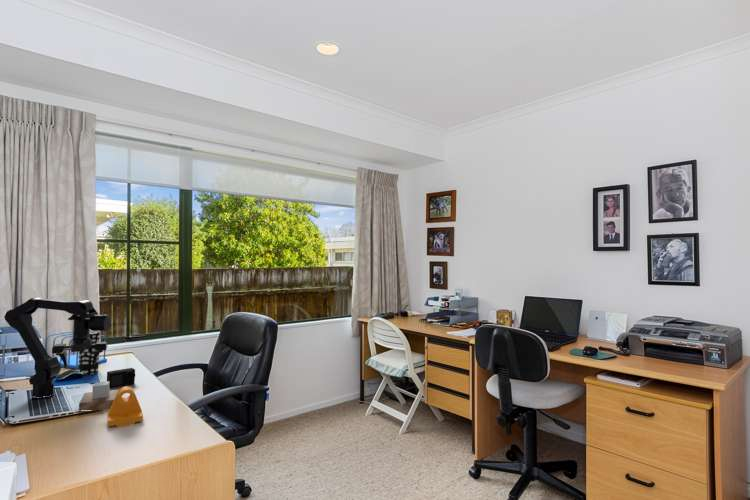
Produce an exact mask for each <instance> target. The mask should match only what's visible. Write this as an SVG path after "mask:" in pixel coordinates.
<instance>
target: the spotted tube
mask: <svg viewBox="0 0 750 500" xmlns="http://www.w3.org/2000/svg"><path fill="white" fill-rule="evenodd" d="M100 335H101V331H92V330H90V333H89V339H91V340H92V344H96V343H97V342H101V336H100ZM94 351H95V349H85V351H83V352H80V351H78V355H79V365H78V369H77V372H78V371H80V372H82V373H83V374H84V375H83V376H90V375H91V374H92V375H95V374H94V373H96V374H98V373H99V365H100V363H99V358H100V354H99V355H98V357H97V359H96V361H95V364H94V366H93V367H92V362H93V357H94Z"/></svg>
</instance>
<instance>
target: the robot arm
mask: <svg viewBox="0 0 750 500" xmlns="http://www.w3.org/2000/svg"><path fill="white" fill-rule="evenodd" d="M39 309H43V310H55V311H64V312H66V313H68V314H70V316H69V317H68V318H67V320H68V321H73V323H72V324H73V327H72V329H73V330H72V332H73V334H72V335H73V337H72V338H73V339H72V338H71V339H72V341H71V344H70V346H69V345H67V343H63V344H61V343H56V344H55V346H53V345H52V348H51V354H53V353H54V354H55V356H54V357H53V358H52V356H51V355H49V354H48V352H47V349H46V350H45V345H43V342H42V341H41V340H40V337H39V335H38V334H37V332H36V329H35V328H34V326H33V314H34V313H35V312H37V310H39ZM3 317H4V320H5V322H6V323H7V324H8V326H10V327H11V328H13V330H16V331H17V332H18V334H19V336H20V338H21V339H22V341H23V343H24V345H25V346H26V348H27V351H28V352H29V354H30V355H31V357H32V359H33V361H34V368H33V369H34V373H35V374H34V375H33V376H31V377H30V378H29V379H28V382H29V384H30V385H32V395H31V397H32V396H36V397H43V396H50V395H52V396H53V395H54V394H55V382H54V380H56V378H57V376H58V375H59V374H60V372H61V370H62V367H61V366H60V365H61V363H59V361H58V357H57V356H59V357H61V359H62V361H63V364H64V366H65V367H64V368H65V370H67V369H68V367H67V365H68V364H67V356H68V351H69V350H70V353H73V352H74V353H77V352H78V353H79V351H80V352H83V351H85V349H95V351H94V357H93V362H92V367H93V366H94V364H95V361H96V359H97V357H98V355H99V356H100V354H101V353H104V350H105V351H107V349H108V342H107V341H106V342H105V341H100V342H97V343H96V344H92V340H91V339H89V333H90V331H97V332H108V331H109V330H110V328H111V323H112V322H111V320H110V317H109V314H99V312H97V310H96V309H95V307H94V305H93V303H92V301H91V300H89V299H88V300H87V299H86V300H85V299H82V300H68V301H67V300H61V299H60V300H59V299H51V298H43V297H40V296H39V297H33V298H32V297H31V298H29V299H28V300H27V301H24V302H23V303H22V304H20V305H18V306H16V307H15V308H12V309H9V310H7V311H6V312H5V315H4V316H3Z"/></svg>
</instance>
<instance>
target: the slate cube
mask: <svg viewBox="0 0 750 500" xmlns="http://www.w3.org/2000/svg"><path fill="white" fill-rule="evenodd" d="M109 388H110V381H107V380H106V381H95V382H94V384H93V385H92V392H93V395H92V399H96V398H106V397H108V395H109V390H110V389H109Z"/></svg>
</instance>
